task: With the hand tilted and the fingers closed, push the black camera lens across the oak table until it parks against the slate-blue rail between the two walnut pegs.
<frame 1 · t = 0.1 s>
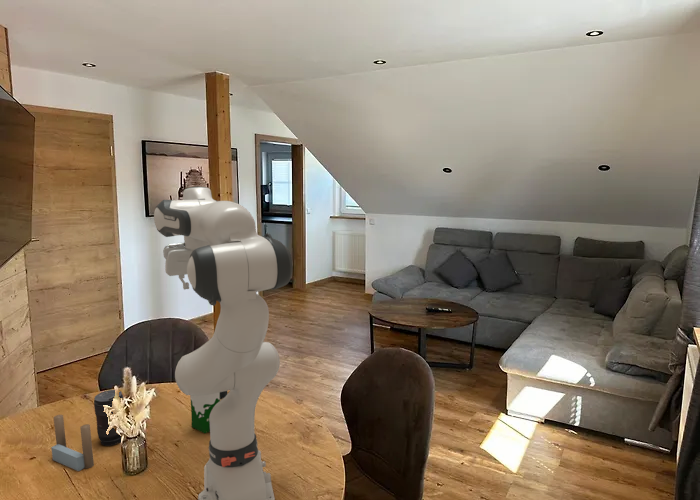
hand: (202, 287, 149), 48 cm above the table, tool pointing down, fingers open, 8 cm apart
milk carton: (207, 426, 162), on the table
peg rail: (68, 463, 142), on the table
camera lens: (112, 441, 154), on the table
supplement bottle: (218, 396, 184), on the table
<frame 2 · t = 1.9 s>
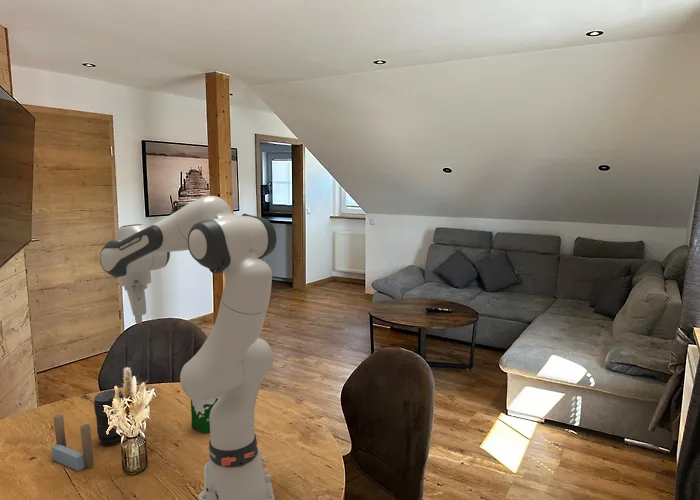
hand: (138, 322, 151), 37 cm above the table, tool pointing down, fingers closed
nothing on the table moved.
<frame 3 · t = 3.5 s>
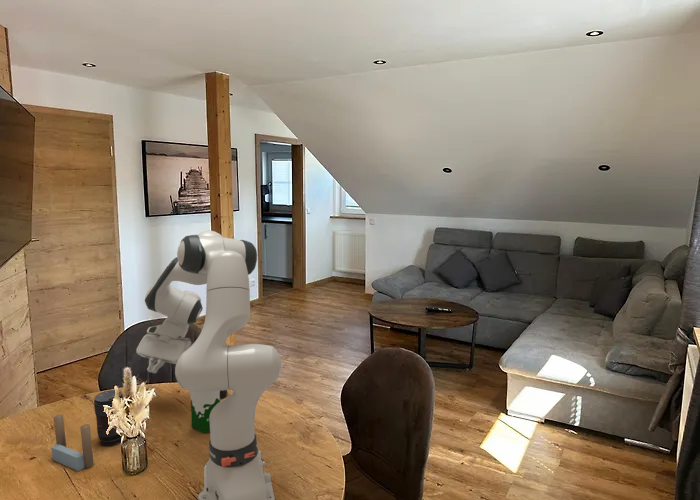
hand: (151, 372, 166), 16 cm above the table, tool tilted 45°, fingers closed
nothing on the table moved.
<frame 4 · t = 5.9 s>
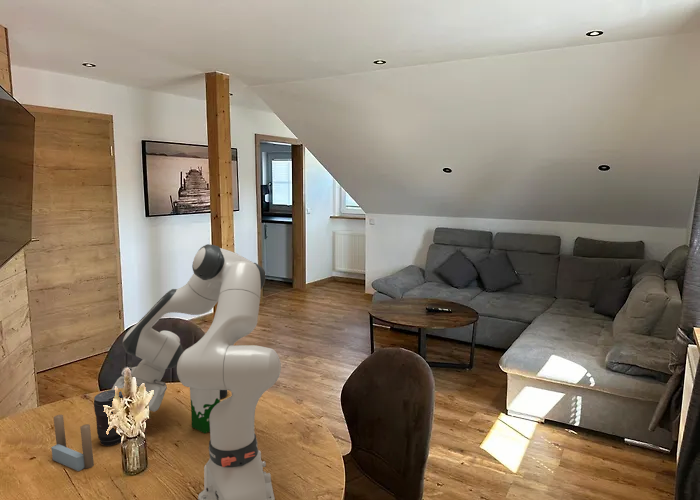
hand: (123, 418, 157), 5 cm above the table, tool tilted 45°, fingers closed, pressing on camera lens
camera lens: (112, 441, 154), on the table, touching gripper
everything else where it was.
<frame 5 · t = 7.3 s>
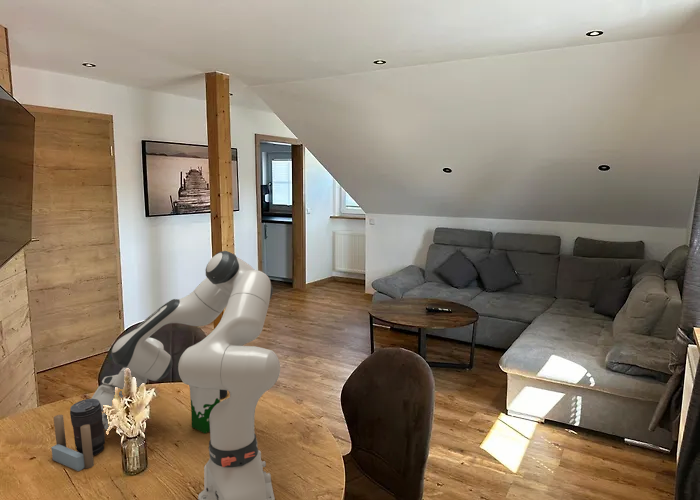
hand: (103, 428, 151), 5 cm above the table, tool tilted 45°, fingers closed, pressing on camera lens
camera lens: (91, 451, 148), on the table, touching gripper
everything else where it was.
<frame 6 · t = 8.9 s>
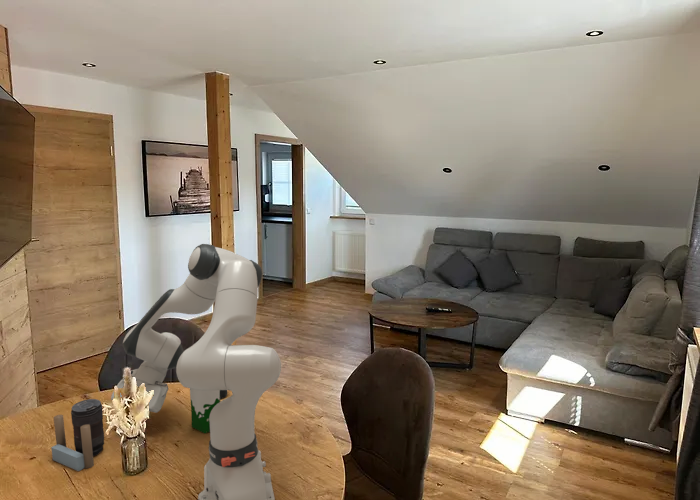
hand: (125, 420, 156), 5 cm above the table, tool tilted 45°, fingers closed
camera lens: (90, 452, 147), on the table
everything else where it was.
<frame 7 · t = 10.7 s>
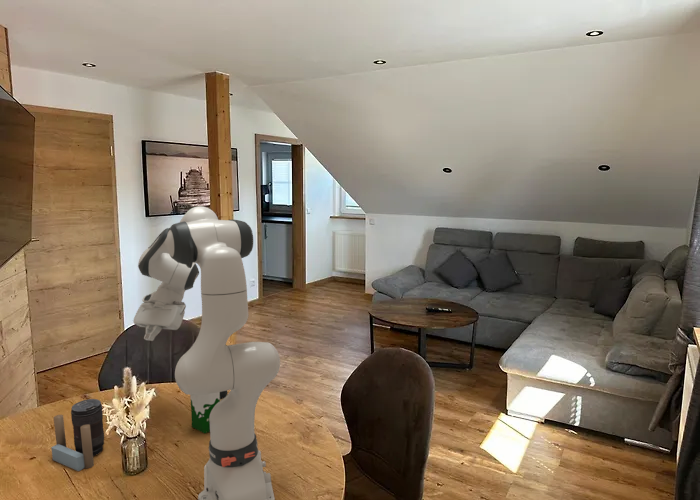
hand: (148, 339, 159), 29 cm above the table, tool tilted 40°, fingers closed
nothing on the table moved.
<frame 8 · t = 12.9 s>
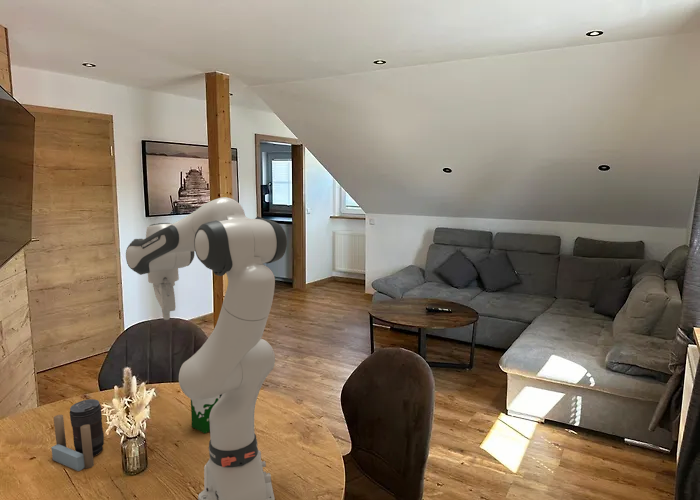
hand: (166, 318, 154), 37 cm above the table, tool pointing down, fingers closed
nothing on the table moved.
at the end: camera lens 1.6 cm from the target spot, on the table; camera lens tilted 1°; camera lens moved 7.4 cm from its start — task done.
